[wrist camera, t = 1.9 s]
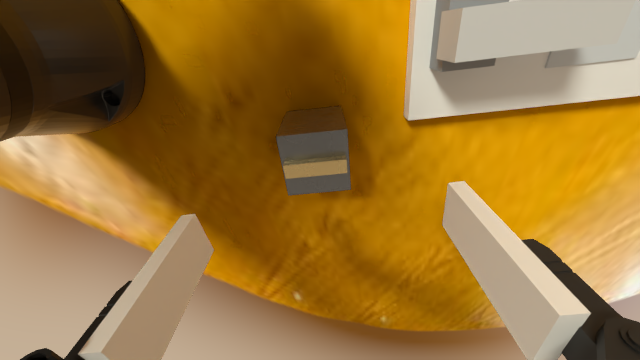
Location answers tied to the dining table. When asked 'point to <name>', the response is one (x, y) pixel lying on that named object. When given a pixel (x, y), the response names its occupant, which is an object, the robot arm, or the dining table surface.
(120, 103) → the robot arm
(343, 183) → the dark grey block
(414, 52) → the white base plate
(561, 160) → the dining table surface
